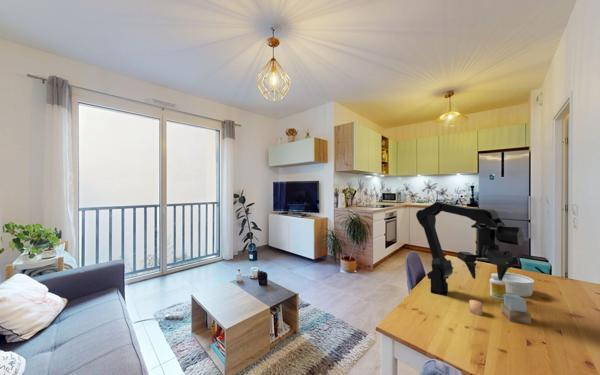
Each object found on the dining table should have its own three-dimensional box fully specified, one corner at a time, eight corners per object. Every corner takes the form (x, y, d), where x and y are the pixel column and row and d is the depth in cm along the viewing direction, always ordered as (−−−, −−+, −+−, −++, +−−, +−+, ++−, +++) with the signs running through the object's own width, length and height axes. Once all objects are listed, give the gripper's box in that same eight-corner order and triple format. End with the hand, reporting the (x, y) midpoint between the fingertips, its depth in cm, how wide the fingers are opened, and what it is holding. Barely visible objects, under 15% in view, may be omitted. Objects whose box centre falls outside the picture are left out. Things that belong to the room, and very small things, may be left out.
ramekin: (503, 295, 101) (502, 280, 101) (490, 284, 113) (490, 270, 113) (541, 300, 96) (541, 284, 96) (524, 288, 108) (524, 274, 108)
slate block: (510, 310, 81) (510, 299, 81) (504, 304, 86) (503, 294, 86) (526, 312, 80) (526, 301, 80) (518, 306, 84) (518, 295, 84)
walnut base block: (509, 321, 81) (509, 310, 81) (501, 313, 87) (501, 303, 87) (531, 325, 79) (530, 313, 79) (521, 316, 85) (520, 305, 85)
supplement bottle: (509, 300, 97) (508, 277, 97) (494, 299, 98) (494, 276, 98) (500, 294, 102) (500, 273, 102) (487, 293, 103) (486, 272, 103)
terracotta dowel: (470, 313, 86) (470, 303, 86) (468, 308, 90) (468, 298, 90) (483, 316, 84) (483, 305, 84) (481, 311, 88) (481, 301, 88)
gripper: (472, 244, 82) (472, 286, 82) (530, 246, 79) (531, 290, 79) (456, 237, 93) (457, 274, 93) (507, 239, 90) (507, 277, 90)
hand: (486, 279), depth 89 cm, fingers open, 9 cm apart
